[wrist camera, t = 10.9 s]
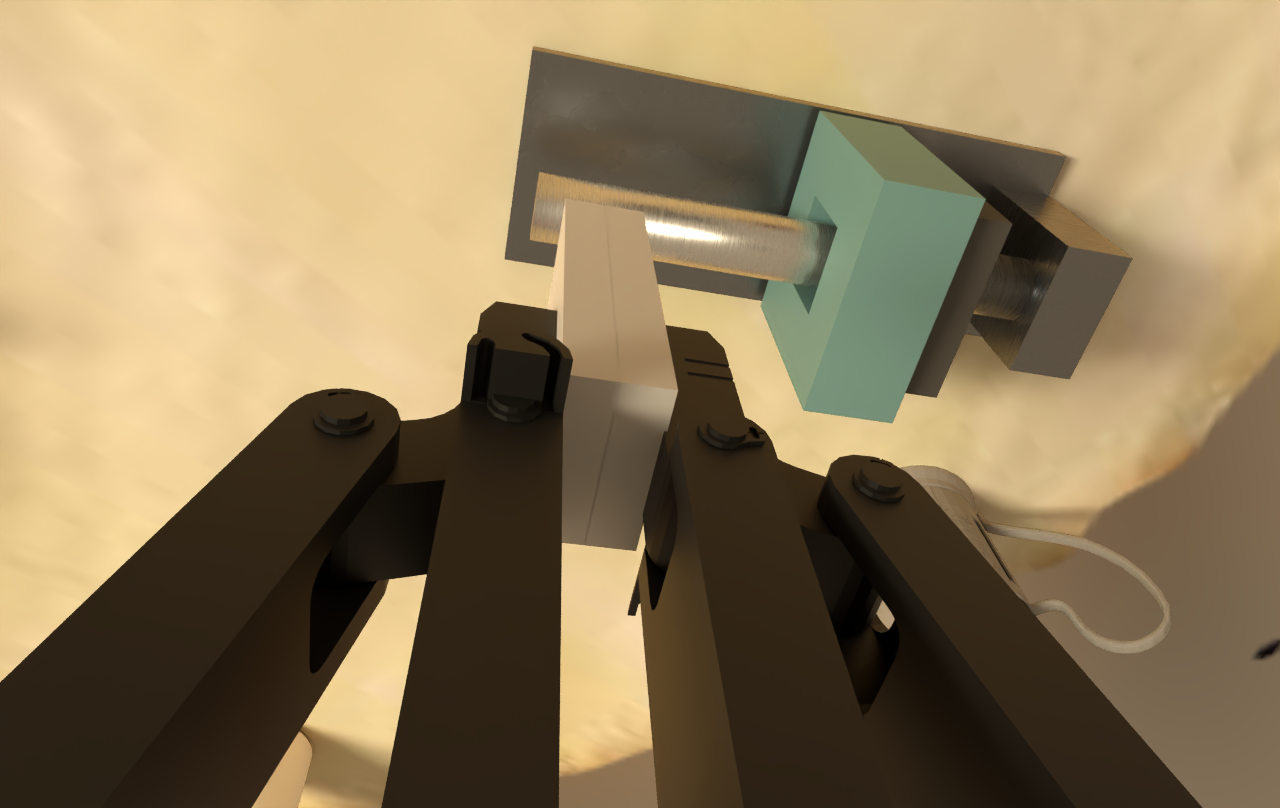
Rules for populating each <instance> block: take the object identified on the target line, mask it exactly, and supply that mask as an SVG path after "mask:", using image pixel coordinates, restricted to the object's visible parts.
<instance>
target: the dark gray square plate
mask: <svg viewBox="0 0 1280 808" xmlns="http://www.w3.org/2000/svg"><path fill="white" fill-rule="evenodd" d="M1011 227H1012V223H1011V222H1010V221H1009V220H1007V219H1006V218H1005V217H1004V216H1003V215H1002V214H1000V213H999V212H998V211H997V210H996V209H995V208H994V207H992V206H991V205H990V204H989V203H988V202H987V201H985V202H984V205H983V207H982V209H981V212H980V214H979V217H978V219H977V222H976V224H975V226H974V229H973V231H972V234H971V236H970V238H969V241H968V243H967V246H966V248H965V250H964V253H963V255H962V258H961V260H960V262H959V265H958V267H957V270H956V272H955V274H954V277H953V279H952V282H951V284H950V286H949V289H948V291H947V294H946V296H945V298H944V301H943V303H942V306H941V308H940V310H939V313H938V315H937V318H936V320H935V322H934V325H933V327H932V330H931V332H930V334H929V337H928V339H927V342H926V344H925V346H924V349H923V351H922V354H921V356H920V358H919V361H918V363H917V366H916V368H915V370H914V373H913V375H912V378H911V380H910V382H909V385H908V387H907V390H906V392H905V393H908V394H915V395H922V396H929V397H935V398H937V395H938V393H939V391H940V388H941V386H942V384H943V382H944V379H945V377H946V375H947V372H948V370H949V368H950V366H951V363H952V361H953V359H954V357H955V354H956V352H957V350H958V347H959V345H960V343H961V341H962V338H963V336H964V334H965V331H966V329H967V327H968V325H969V322H970V320H971V318H972V316H973V313H974V311H975V309H976V306H977V304H978V302H979V300H980V297H981V295H982V293H983V290H984V288H985V286H986V284H987V281H988V279H989V277H990V274H991V272H992V270H993V268H994V265H995V263H996V261H997V259H998V256H999V254H1000V252H1001V249H1002V247H1003V245H1004V243H1005V240H1006V238H1007V236H1008V233H1009V231H1010V229H1011Z"/></svg>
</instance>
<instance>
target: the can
mask: <svg viewBox="0 0 1280 808" xmlns="http://www.w3.org/2000/svg"><path fill="white" fill-rule="evenodd" d="M311 759H312V747H311V745H310V743H309V741H308V739H307V738H306V736H305V735H304V734H303V733H302V732H301V731H299V733H298V734H297V736H296V737H295V739H294V741H293V742H292V744H291V745H290V747H289V749H288V750H287V752H286V753H285V755H284V757H283V758H282V760H281V761H280V763H279V765H278V766H277V768H276V770H275V771H274V773H273V774H272V776H271V778H270V779H269V781H268V782H267V784H266V786H265V787H264V789H263V790H262V792H261V794H260V795H259V797H258V799H257V800H256V802H255V803H254V805H253V807H252V808H298V806H299V802H300V799H301V795H302V792H303V788H304V784H305V781H306V777H307V774H308V770H309V766H310V763H311Z"/></svg>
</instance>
